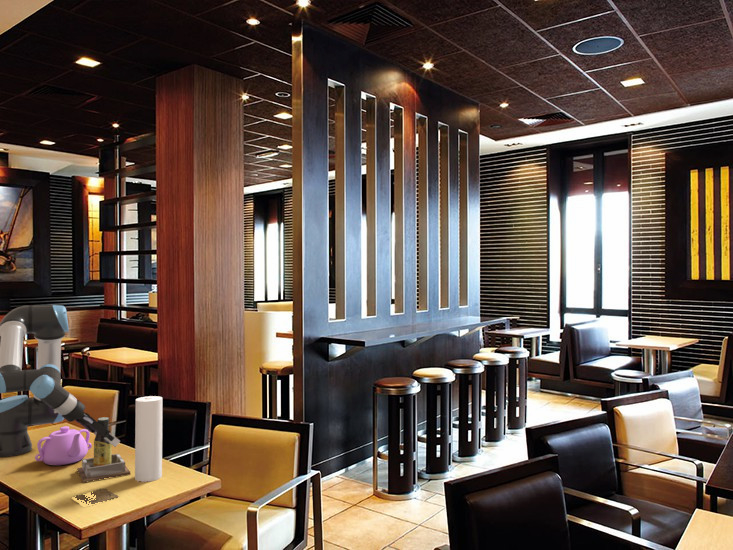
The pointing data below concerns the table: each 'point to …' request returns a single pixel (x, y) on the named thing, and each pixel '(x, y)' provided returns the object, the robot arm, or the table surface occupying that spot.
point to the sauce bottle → (102, 446)
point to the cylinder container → (148, 438)
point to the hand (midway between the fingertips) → (112, 441)
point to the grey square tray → (102, 469)
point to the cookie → (98, 496)
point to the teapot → (63, 446)
